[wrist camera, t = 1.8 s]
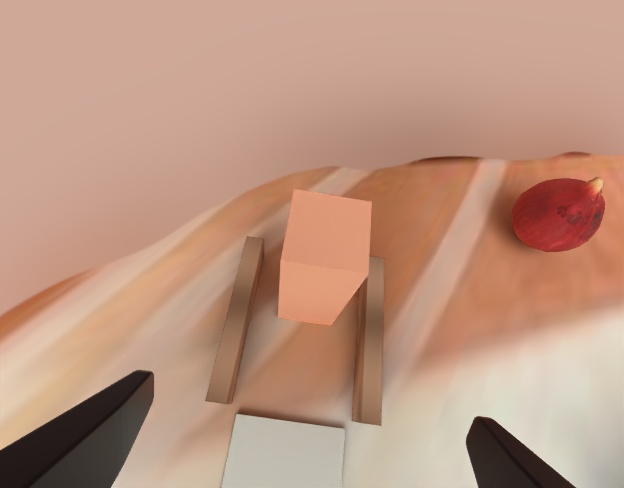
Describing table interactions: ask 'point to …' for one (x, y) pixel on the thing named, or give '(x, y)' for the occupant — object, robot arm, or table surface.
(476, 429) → the robot arm
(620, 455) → the table surface
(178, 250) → the table surface
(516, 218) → the onion
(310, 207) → the block
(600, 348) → the table surface
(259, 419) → the pad
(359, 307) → the channel
